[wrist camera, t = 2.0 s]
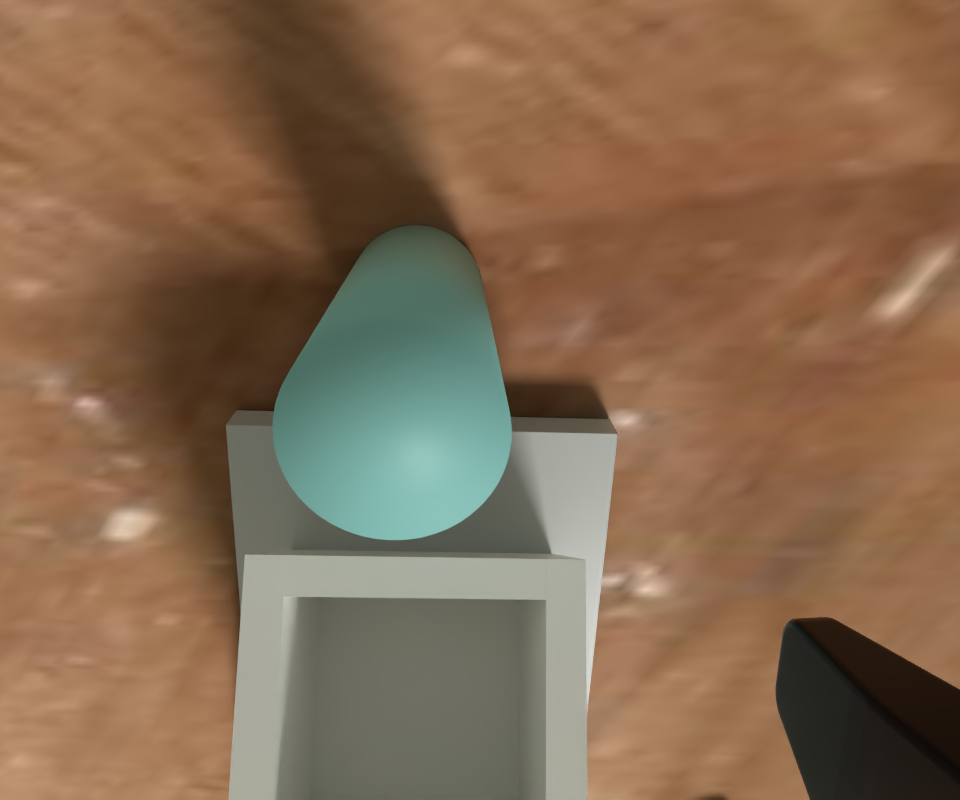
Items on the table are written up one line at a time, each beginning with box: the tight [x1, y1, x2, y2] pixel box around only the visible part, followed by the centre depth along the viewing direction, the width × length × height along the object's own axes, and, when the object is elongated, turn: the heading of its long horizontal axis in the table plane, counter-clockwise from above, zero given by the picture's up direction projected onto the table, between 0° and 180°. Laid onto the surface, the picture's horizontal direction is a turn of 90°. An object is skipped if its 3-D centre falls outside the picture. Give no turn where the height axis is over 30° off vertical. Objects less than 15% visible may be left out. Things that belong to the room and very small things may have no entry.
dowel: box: [272, 225, 512, 540], centre depth 15 cm, size 3×3×9 cm
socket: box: [226, 410, 618, 800], centre depth 18 cm, size 12×10×8 cm
